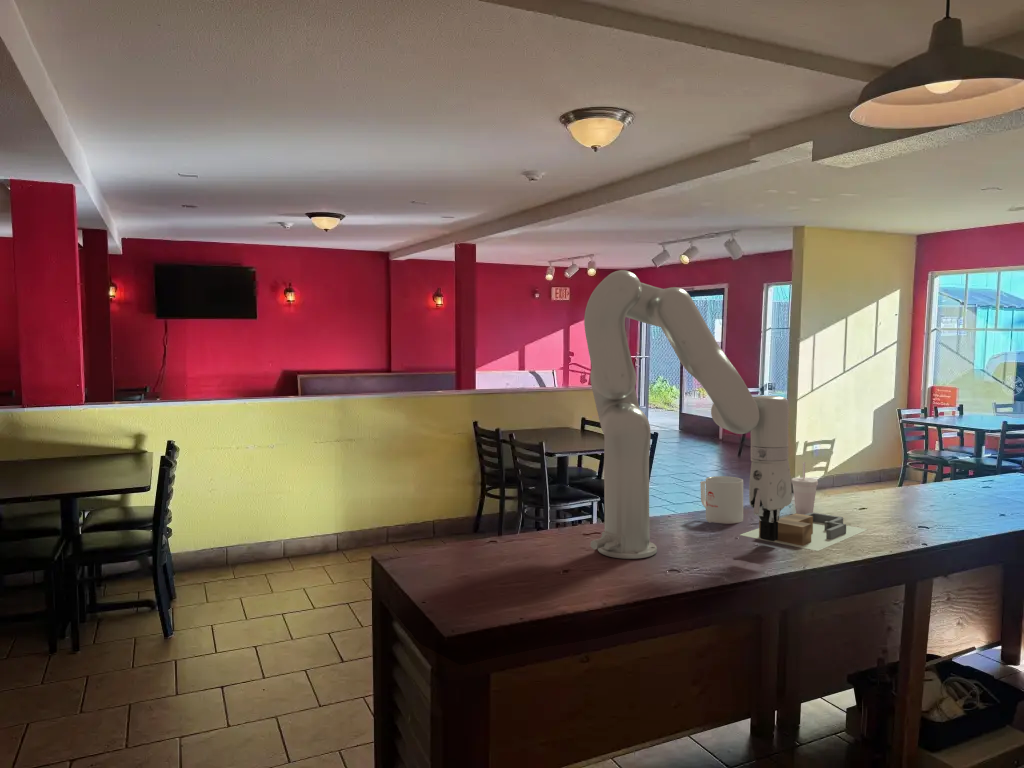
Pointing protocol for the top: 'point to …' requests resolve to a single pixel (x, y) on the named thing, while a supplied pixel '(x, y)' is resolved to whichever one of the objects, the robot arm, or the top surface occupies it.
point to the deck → (820, 532)
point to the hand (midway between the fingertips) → (769, 539)
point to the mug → (723, 499)
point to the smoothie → (804, 493)
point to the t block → (795, 529)
